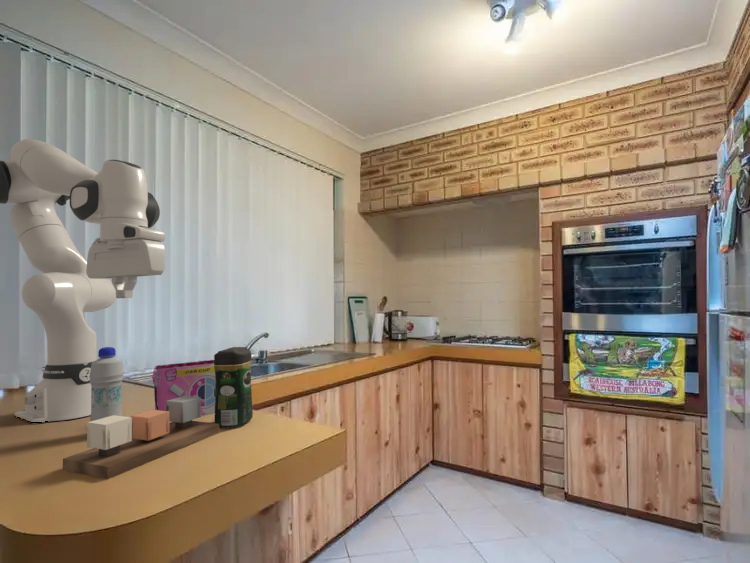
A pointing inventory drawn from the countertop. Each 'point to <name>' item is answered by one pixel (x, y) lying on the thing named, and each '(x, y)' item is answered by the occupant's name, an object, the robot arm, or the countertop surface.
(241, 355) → the coffee jar
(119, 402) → the bottle
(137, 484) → the countertop surface
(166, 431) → the terracotta button
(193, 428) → the button board
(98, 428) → the cream button
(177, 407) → the slate-grey button
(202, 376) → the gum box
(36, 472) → the countertop surface
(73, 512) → the countertop surface
